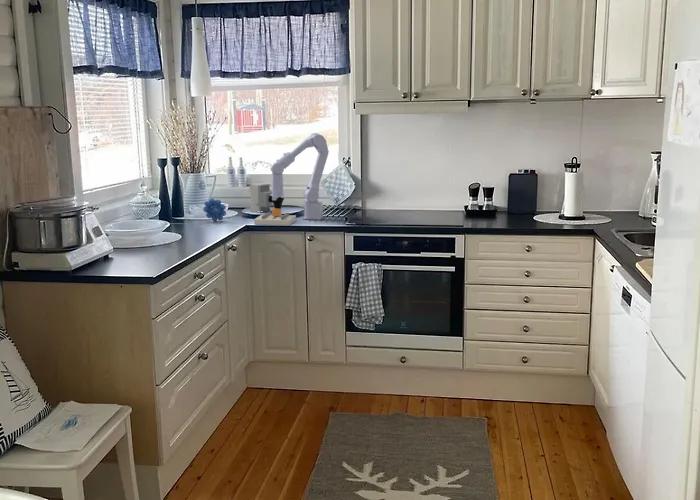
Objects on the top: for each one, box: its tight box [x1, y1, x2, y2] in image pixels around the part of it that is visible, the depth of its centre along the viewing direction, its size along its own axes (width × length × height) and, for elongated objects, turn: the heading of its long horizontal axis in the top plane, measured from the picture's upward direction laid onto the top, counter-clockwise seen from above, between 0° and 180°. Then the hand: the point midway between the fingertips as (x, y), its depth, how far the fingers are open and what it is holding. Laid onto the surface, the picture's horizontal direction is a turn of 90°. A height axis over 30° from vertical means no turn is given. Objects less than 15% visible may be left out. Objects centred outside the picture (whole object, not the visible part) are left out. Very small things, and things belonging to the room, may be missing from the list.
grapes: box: [202, 197, 227, 222], centre depth 367 cm, size 12×7×12 cm, turn 109°
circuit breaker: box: [248, 182, 274, 212], centre depth 394 cm, size 8×14×15 cm, turn 53°
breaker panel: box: [254, 211, 297, 226], centre depth 366 cm, size 18×14×4 cm
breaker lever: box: [271, 207, 282, 216], centre depth 368 cm, size 4×3×4 cm
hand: (278, 212), depth 371 cm, fingers closed
